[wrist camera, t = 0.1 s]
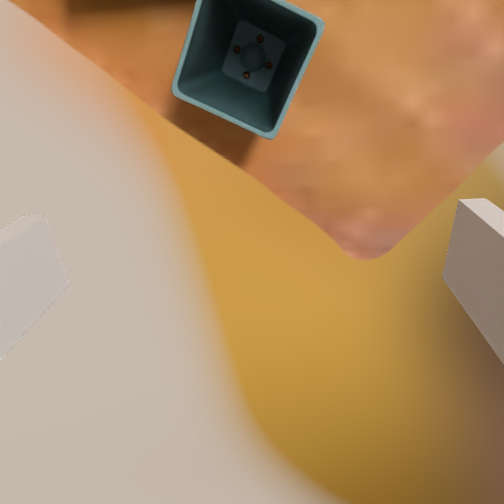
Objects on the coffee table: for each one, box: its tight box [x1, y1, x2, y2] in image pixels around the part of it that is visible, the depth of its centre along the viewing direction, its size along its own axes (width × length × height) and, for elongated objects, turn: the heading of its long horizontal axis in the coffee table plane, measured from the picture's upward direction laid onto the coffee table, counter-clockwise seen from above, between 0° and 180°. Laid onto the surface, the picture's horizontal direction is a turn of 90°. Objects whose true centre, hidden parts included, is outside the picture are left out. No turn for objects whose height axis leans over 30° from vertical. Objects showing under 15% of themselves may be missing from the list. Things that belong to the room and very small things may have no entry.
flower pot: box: [171, 0, 325, 140], centre depth 30 cm, size 9×9×9 cm
